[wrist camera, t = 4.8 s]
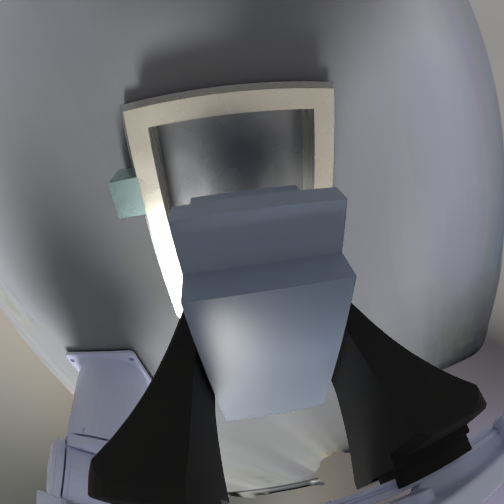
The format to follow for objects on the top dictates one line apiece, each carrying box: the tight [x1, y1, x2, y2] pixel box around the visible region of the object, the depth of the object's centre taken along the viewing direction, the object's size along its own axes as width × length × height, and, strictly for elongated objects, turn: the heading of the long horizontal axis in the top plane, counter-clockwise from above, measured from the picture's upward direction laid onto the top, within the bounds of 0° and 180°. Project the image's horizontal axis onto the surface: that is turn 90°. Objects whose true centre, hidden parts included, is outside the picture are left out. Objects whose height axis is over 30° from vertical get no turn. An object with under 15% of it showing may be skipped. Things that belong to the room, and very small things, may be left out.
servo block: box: [168, 185, 356, 421], centre depth 11 cm, size 10×4×6 cm, turn 4°
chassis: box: [108, 81, 334, 317], centre depth 16 cm, size 15×12×3 cm
